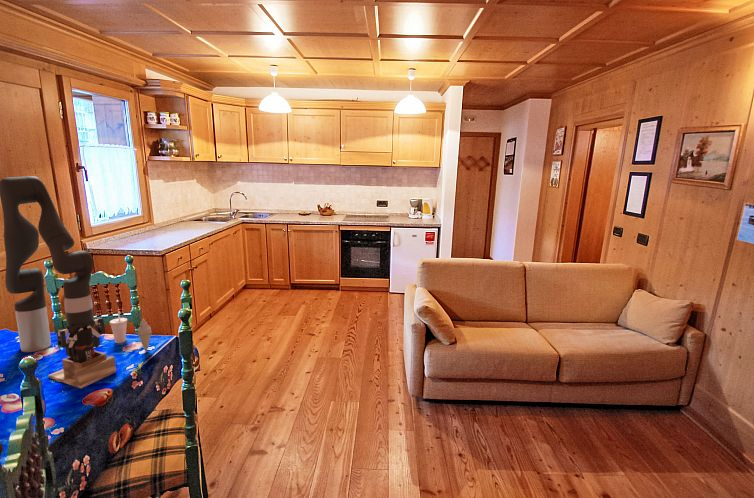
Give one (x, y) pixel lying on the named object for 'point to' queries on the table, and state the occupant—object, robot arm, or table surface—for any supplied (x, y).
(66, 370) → the socket block
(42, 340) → the robot arm
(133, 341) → the table surface
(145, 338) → the ice cream cone
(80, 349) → the deodorant
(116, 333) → the smoothie
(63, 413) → the table surface
